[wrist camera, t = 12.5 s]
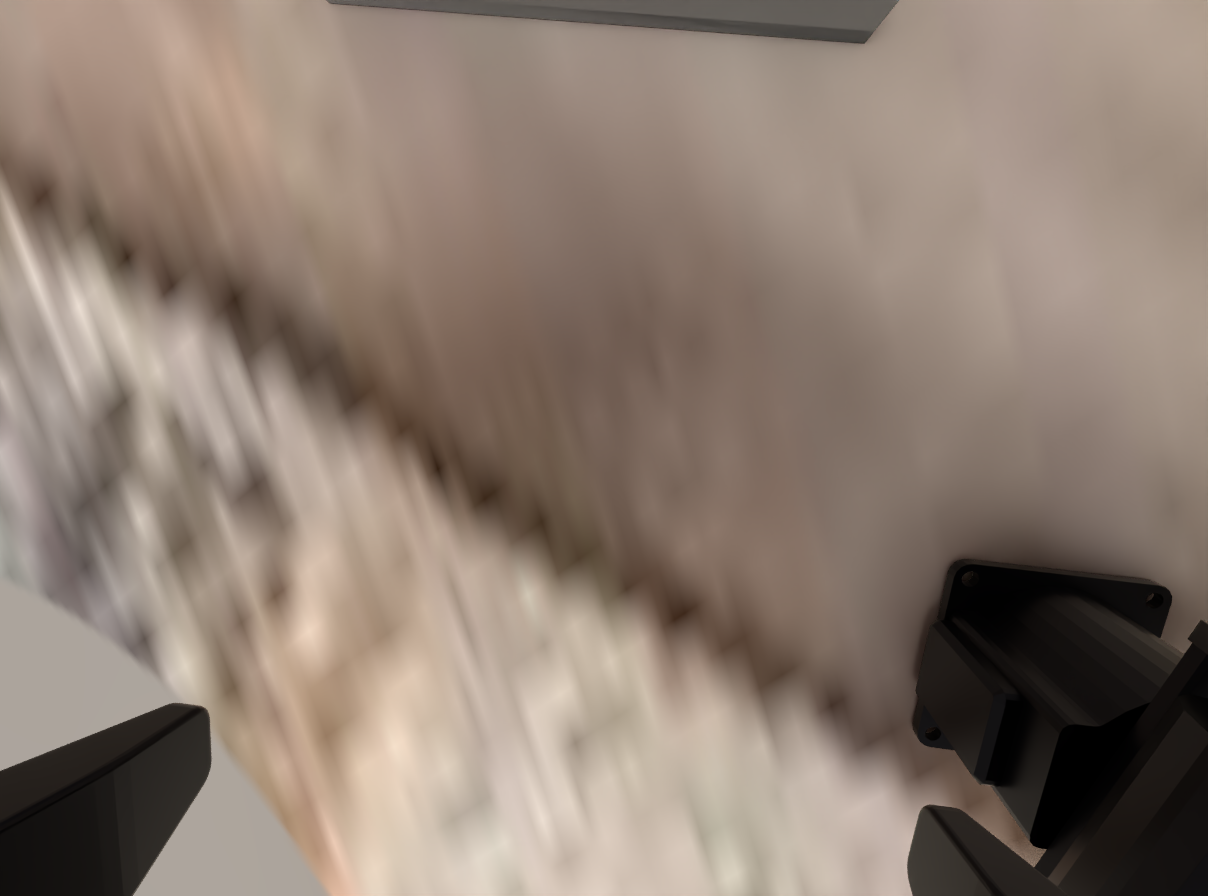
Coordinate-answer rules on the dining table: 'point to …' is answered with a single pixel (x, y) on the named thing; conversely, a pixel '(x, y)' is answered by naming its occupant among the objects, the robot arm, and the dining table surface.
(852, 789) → the dining table surface
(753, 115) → the dining table surface
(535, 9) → the tray
